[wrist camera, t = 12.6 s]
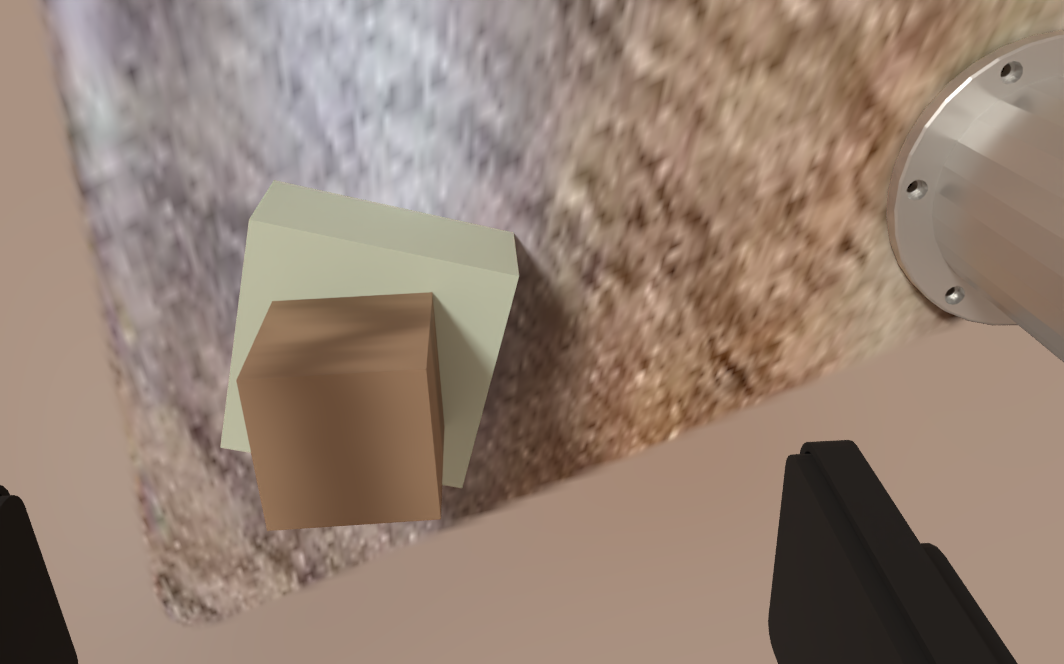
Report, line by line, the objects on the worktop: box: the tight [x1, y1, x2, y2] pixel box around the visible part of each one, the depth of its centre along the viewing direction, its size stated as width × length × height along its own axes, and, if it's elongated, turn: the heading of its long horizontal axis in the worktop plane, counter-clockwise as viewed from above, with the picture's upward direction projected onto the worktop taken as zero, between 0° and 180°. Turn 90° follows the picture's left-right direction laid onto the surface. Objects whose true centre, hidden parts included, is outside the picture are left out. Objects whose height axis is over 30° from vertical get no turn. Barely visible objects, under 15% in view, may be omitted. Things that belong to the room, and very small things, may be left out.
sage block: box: [220, 180, 519, 488], centre depth 38 cm, size 10×10×5 cm
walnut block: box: [236, 292, 445, 531], centre depth 33 cm, size 6×6×6 cm
